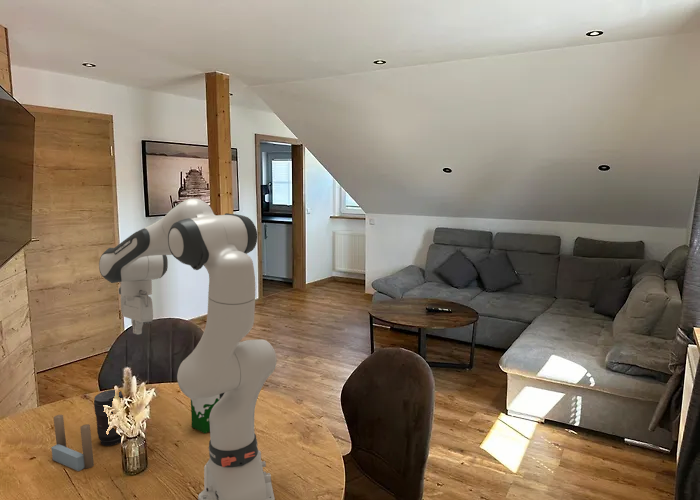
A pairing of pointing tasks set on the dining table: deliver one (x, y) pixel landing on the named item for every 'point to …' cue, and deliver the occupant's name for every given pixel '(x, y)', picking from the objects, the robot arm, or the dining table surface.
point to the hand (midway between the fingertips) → (137, 333)
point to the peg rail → (68, 455)
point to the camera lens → (105, 418)
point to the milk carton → (202, 412)
